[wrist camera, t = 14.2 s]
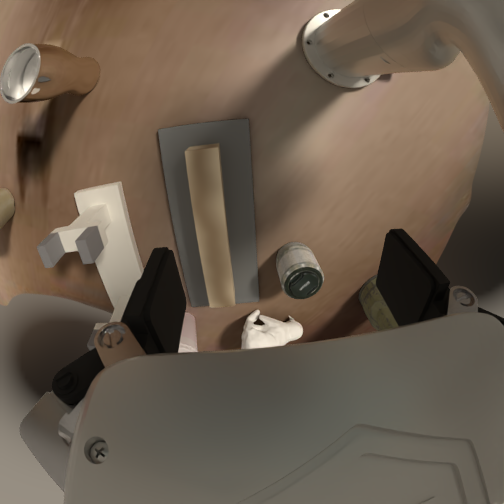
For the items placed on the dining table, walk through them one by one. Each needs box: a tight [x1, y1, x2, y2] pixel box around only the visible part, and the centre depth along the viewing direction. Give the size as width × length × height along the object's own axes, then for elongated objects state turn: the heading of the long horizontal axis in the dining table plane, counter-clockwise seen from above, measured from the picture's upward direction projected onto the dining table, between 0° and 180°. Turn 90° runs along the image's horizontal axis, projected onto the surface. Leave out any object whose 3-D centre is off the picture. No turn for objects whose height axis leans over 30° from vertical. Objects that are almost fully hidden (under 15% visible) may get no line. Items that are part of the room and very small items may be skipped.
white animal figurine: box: [241, 310, 303, 349], centre depth 48 cm, size 6×8×12 cm
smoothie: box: [178, 312, 198, 353], centre depth 43 cm, size 6×6×14 cm
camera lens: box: [276, 242, 324, 299], centre depth 41 cm, size 6×6×8 cm
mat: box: [158, 119, 259, 307], centre depth 40 cm, size 12×30×1 cm, turn 3°
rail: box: [185, 143, 235, 308], centre depth 38 cm, size 4×24×4 cm, turn 3°
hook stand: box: [37, 182, 144, 350], centre depth 36 cm, size 8×25×14 cm, turn 3°
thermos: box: [359, 275, 399, 331], centre depth 35 cm, size 9×12×35 cm
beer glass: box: [0, 43, 100, 104], centre depth 20 cm, size 7×7×15 cm
